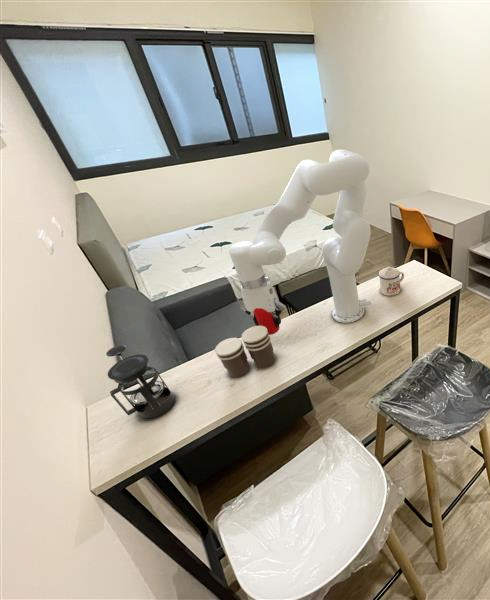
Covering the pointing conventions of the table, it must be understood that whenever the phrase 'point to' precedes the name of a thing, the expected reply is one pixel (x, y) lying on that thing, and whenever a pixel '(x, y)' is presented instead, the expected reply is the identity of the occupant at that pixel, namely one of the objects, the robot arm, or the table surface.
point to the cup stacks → (235, 355)
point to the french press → (146, 392)
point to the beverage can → (266, 320)
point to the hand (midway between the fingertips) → (268, 324)
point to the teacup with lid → (390, 281)
